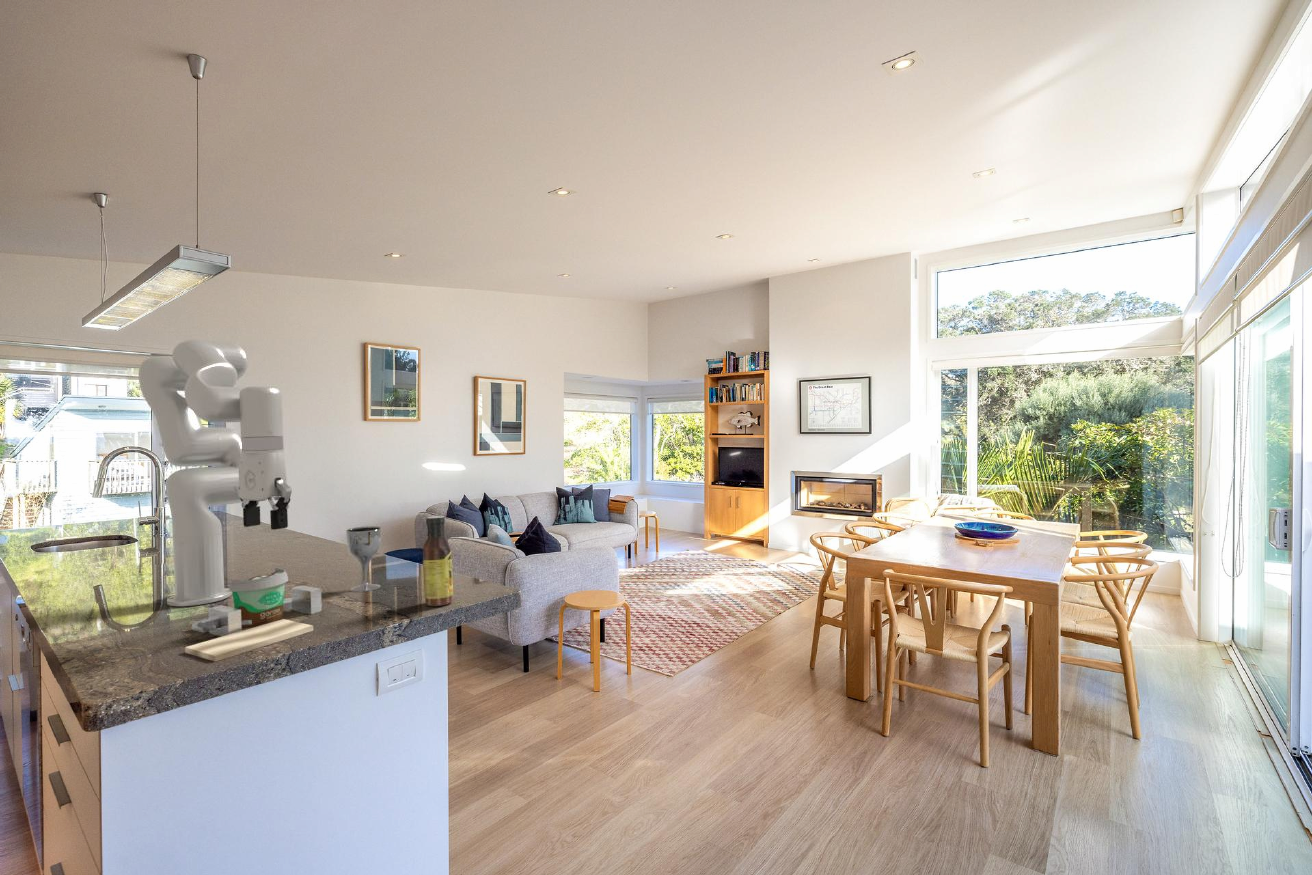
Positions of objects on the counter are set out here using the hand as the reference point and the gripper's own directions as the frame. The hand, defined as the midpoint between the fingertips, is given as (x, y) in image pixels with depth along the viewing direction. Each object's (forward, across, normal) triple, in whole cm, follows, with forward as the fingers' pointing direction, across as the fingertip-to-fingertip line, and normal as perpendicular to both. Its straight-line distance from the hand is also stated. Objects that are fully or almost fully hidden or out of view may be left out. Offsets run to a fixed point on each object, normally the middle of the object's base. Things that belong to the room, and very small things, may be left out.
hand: (265, 527), depth 131 cm
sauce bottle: (+20, +23, +25) cm, 39 cm away
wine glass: (+20, -5, +27) cm, 34 cm away
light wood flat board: (+20, +9, -8) cm, 24 cm away
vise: (+20, -3, -1) cm, 20 cm away
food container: (+20, 0, 0) cm, 20 cm away
